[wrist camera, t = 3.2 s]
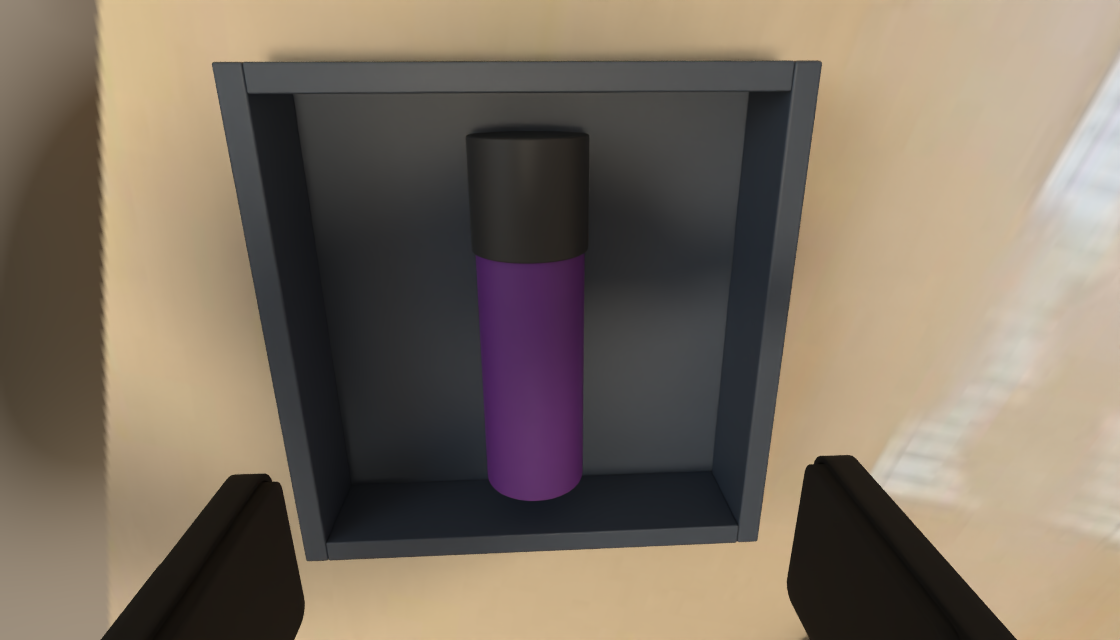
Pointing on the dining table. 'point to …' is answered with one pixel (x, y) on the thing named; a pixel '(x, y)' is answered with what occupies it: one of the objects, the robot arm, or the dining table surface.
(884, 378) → the dining table surface
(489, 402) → the marker
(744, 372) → the bin
